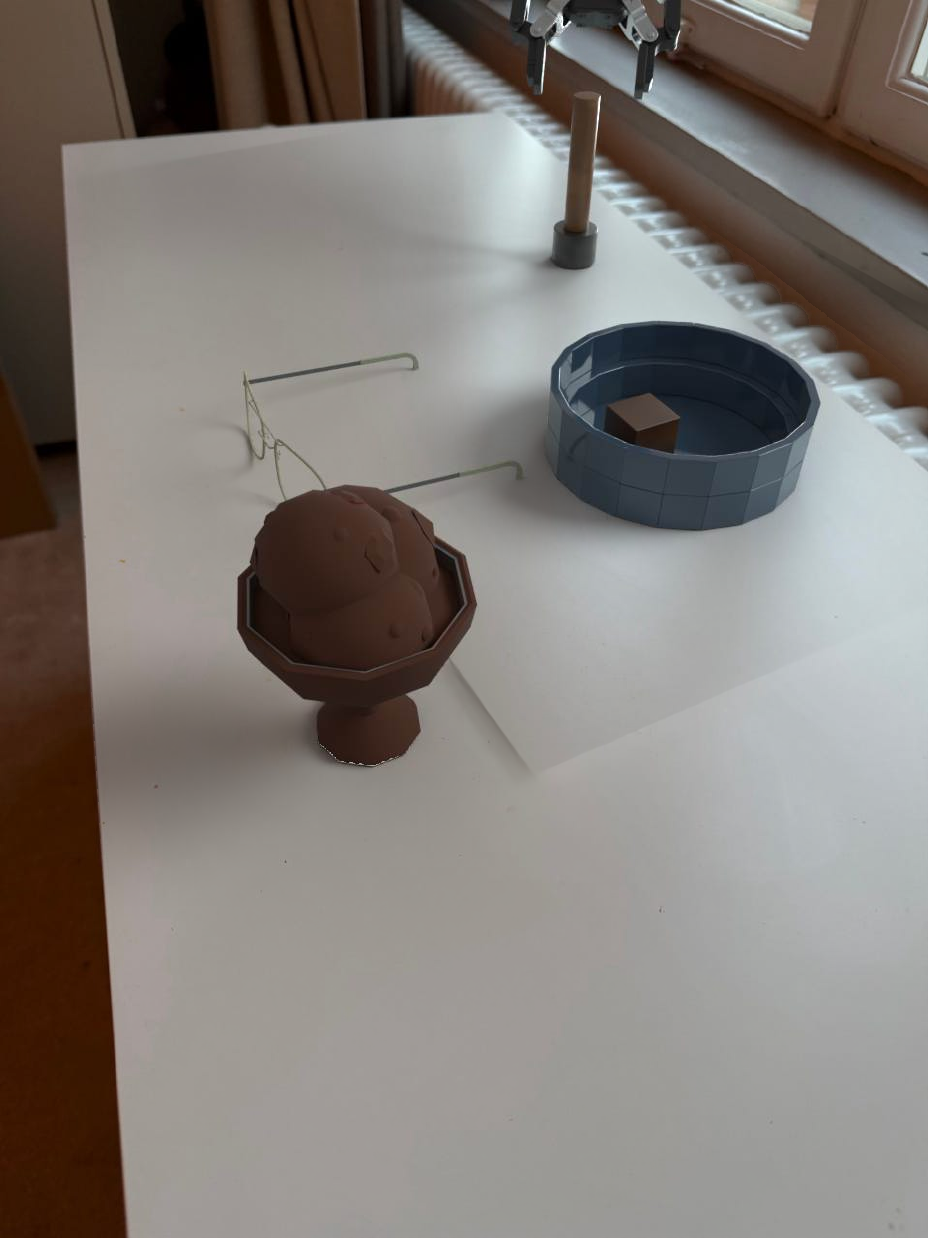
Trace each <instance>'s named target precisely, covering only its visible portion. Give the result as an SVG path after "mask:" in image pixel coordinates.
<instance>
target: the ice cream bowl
mask: <svg viewBox="0 0 928 1238" xmlns="http://www.w3.org/2000/svg"><path fill="white" fill-rule="evenodd" d="M253 541H254V545H253V548H252V552H251V556H250V559H249V565H248V566H247V567H246V568H245V569H244V570H243V571H242V572H241V573H240V574H239V575H238V576H237V581H236V582H237V589H236V591H237V593H236V602H237V603H236V609H237V610H236V630H237V632H238V634H239V637H240V638H241V639H242V641H243V643H244V645H245V648H246V649H247V651H248V652H249V653H250V654H251V655H252V656H253V657H254V658H256V660H258V661H259V662H260V664H262V665H263V666H264V667H265V668H266V669H267V670H268V671H270V672H271V673H272V674H273V675H274V676H276V677H277V678H278V679H279V680H280V681H282V682H283V683H284V684H285V685H286V686H287V687H288V688H289V689H291V690H292V691H293V692H294V693H295V694H296V695H298V696H299V697H300V698H301V699H302V700H306V701H313V702H319V703H320V702H321V703H323V705H322V706H321V707H320V708H319V709H318V711H317V714H316V717H317V718H316V717H315V720H316V719H317V724H316V734H317V733H318V739H317V743H318V742H319V744H321V745H322V746H324V748H326V750H328V751H329V752H331V754H333V756H334V757H336V759H338V760H339V761H344V762H346V763H349V762H353V763H355V764H359V763H362V764H364V765H376V764H379V763H381V762H382V761H387V760H389V759H390V758H395V757H397V756H400V757H402V755H403V754H405V755H406V753H407V752H408V750H409V749H410V748H409V746H410V747H412V745H411V744H413V743H414V742H415V741H416V739H417V738H418V736H419V735H420V733H421V731H422V729H421V725H420V724H421V723H420V718H419V712H418V706H417V704H416V703H415V701H414V699H413V698H411V697H410V696H408V694H410V693H412V692H415V691H417V690H421V689H423V688H426V687H428V686H430V685H431V683H432V682H433V681H434V679H435V678H436V676H437V675H438V673H439V672H440V671H441V670H442V668H443V667H444V665H445V664H446V663H447V662H448V660H449V659H450V657H451V655H452V654H453V653H454V651H455V650H456V649H457V647H458V646H459V644H460V643H461V641H462V640H463V639H464V638H465V636H466V635H467V633H468V631H469V630H470V628H471V627H472V624H473V620H474V617H475V613H476V611H477V607H478V602H477V599H476V598H477V597H476V594H475V590H474V585H473V582H472V577H471V573H470V569H469V565H468V561H467V557H466V556H467V555H466V554H464V553H463V552H462V551H460V550H458V549H457V548H455V547H454V546H452V545H450V544H449V543H447V542H446V541H445V540H443V539H442V538H440V537H439V536H436V535H435V529H434V522H433V521H431V520H430V519H429V518H428V517H426V516H425V515H424V514H423V513H421V512H420V511H419V510H418V509H416V508H415V507H414V506H413V507H411V506H410V505H409V504H407V503H405V502H403V500H401V499H398V498H397V497H395V496H393V495H392V494H391V493H389V494H388V493H387V492H385V491H382V489H380V488H378V487H375V486H374V487H373V486H364V485H355V484H346V483H345V484H342V485H339V486H334V487H330V488H327V489H326V490H324V489H311V490H308V491H306V492H304V493H301V494H299V495H296V496H294V497H291V498H289V499H288V500H286V501H285V500H283V501H282V502H279V503H278V504H277V506H276V507H275V509H274V510H271V511H269V512H268V513H267V514H265V517H264V519H263V525H262V526H261V528H260V529H259V531H258V532H257V534H256V535H255V537H254V540H253ZM416 737H417V738H416ZM413 741H414V742H413ZM319 744H318V745H319ZM324 748H323V749H324ZM408 748H409V749H408ZM326 750H325V751H326ZM406 751H407V752H406ZM333 756H332V757H333ZM403 756H404V755H403ZM334 757H333V758H334ZM336 759H335V760H336ZM395 759H396V758H395ZM387 762H388V761H387ZM346 763H345V764H346Z"/></svg>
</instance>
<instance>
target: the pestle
mask: <svg viewBox="0 0 928 1238" xmlns="http://www.w3.org/2000/svg"><path fill="white" fill-rule="evenodd" d="M600 105H601V95H600V93H597V92H595V91H588V90H584V91H577V92H575V93H574V94H573V102H572V114H571V115H572V116H571V126H570V127H571V128H570V139H569V140H570V141H569V153H568V165H567V167H568V169H567V179H566V192H565V206H564V208H565V209H564V216H563V217H564V218H563V219H562V220H560V221H557V222H556V223H555V224H554V225H553V232H552V245H551V246H552V248H551V261H552V263H553V264H554V265H556V266H558V267H560V268H564V269H569V270H581V269H586V268H589V267H591V266H593V264H594V263H595V262H596V256H597V255H596V254H597V247H598V246H597V245H598V236H599V234H598V233H599V227H598V225H597V224H595V223H594V222H592V221H590V215H591V203H592V191H593V180H594V171H595V159H596V148H597V140H598V139H597V137H598V127H599V118H600ZM594 265H595V264H594Z"/></svg>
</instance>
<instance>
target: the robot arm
mask: <svg viewBox="0 0 928 1238" xmlns="http://www.w3.org/2000/svg"><path fill="white" fill-rule="evenodd" d="M656 1H657V2H658V3H659V4H660V5H663V17H662V21H663V22H662V27H658V28H656V27H655V25H654V24H653V22H652V21H651V19H650V17H649V16H648V15H647V11H646V8H645V5H644V4H643V2H642V1H641V0H549V2H548V3H547V4H546V7H545V9H544V11H543V12H542V13H541V14H540V15H539V16H538V17H537V19H536V20H535V21H533V23H532V22H530V21H528V19H529V12H530V7H531V6H530V5H531V0H512V2H511V8H510V15H509V21H508V23H509V36H510V37H509V39H510V42H511V44H512V45H515V46H520V45H523V46H525V47H526V48H527V50H528V51H527V62H526V74H525V75H526V83H527V86H528V88H533V95H543V86H544V76H545V66H546V54H547V53H546V52H547V51H546V50H547V47H548V45H550V44H551V42H552V41H553V40H554V39H556V38H558V37H560V36H561V34H562V33H563V32H565V30H566V29H567V28H568V27H569V26H570V24H571V23H572V24H574V25H575V27H576V28H580V29H581V28H582V29H586V28H591V27H594V26H595V27H598V28H600V29H606V30H607V29H608V30H613V29H614V26H617V25H618V26H619V27H620V29H621V30H622V32H623V33H624V35H625V36H626V38H627V40H629V41H632V43H633V44H634V46H635V48H636V49H637V52H638V53H637V60H636V68H635V69H636V70H635V80H634V90H633V91H634V92H633V100H643V96H644V94H645V93H646V94H647V93H648V94H649V92H650V91H651V89H652V85H653V82H654V81H653V79H654V71H655V61H656V56H657V55H658V54H659V53H661V52H664V51H665V52H667V53H671V52H675V50H676V49H677V47H678V41H679V40H678V39H679V35H680V33H681V25H682V24H681V23H682V0H656Z"/></svg>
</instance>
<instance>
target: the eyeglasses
mask: <svg viewBox="0 0 928 1238" xmlns="http://www.w3.org/2000/svg"><path fill="white" fill-rule="evenodd" d="M404 358H408V359H411V360H412V370H413V371H417V370H419V369H420V365H419V360H418V358H417V357H416V356H415V354H414V353H412V352H408V351H405V352H398V353H392V354H386V355H381V356H374V357H369V358H364V359H363V358H362V359H359V360H356V361H351V362H344V363H340V364H339V363H338V364H332V365H327V366H322V367H317V368H310V369H305V370H304V369H303V370H299V371H298V370H297V371H292V372H288V373H287V372H286V373H282V374H276V375H270V376H265V377H258V378H252V379H249V378H248V375H247V371H245V370H244V371H243V372H242V373H243V382H242V383H243V387H244V398H245V399H244V400H245V409H246V410H245V411H246V422H247V434H248V439H249V443H250V446H251V450H252V452H253V454H254V456H255V457H256V458H257V459H258V460H259V461H262V460H265V457H266V447H267V449H269V450H273V454H274V463H275V471H276V477H277V482H278V485H279V489H280V491H281V494H282V497H283V498H284V501H286V500H289V499H288V497H287V494H286V492H285V489H284V486H283V483H282V482H283V481H282V477H281V473H280V465H279V461H280V457H279V456H282V455H281V454H282V453H281V450H278V447H285V448H286V449H287V450H289V452H291V454H293V455H294V456H295V457H296V458H298V459H299V460H300V461H301V462H302V463H303V464H304V465H305V466H306V467H307V468H308V469H309V470H310V471H311V472H312V473H313V474H314V475H315V477H316V478H317V479H318V481H319V482H320V484H321V486H322V488H323V490H326V489H328V486H327V484H326V482H325V481H324V479H323V478H322V477H321V475H320V474H319V473H318V471H317V469H315V468H314V467H313V466H312V465H311V464H310V463H309V462H308V461H307V460H305V459H304V457H302V456H301V455H300V454H299V453H298V452H297V451H296V450H295V449H294V448H292V447H291V446H290V445H289V444H287V442H285V441H284V440H283V439H280V438H277V439H276V437H275V435H274V434H273V433H272V431H271V429H270V428H269V427H268V426H267V424H266V423H265V421H264V418H263V415H262V412H261V409H260V407H259V405H258V402H257V399H256V397H255V395H254V393H253V390H252V388H251V385H254V384H260V383H266V382H271V381H277V380H282V379H288V378H294V377H300V376H305V375H311V374H316V373H322V372H328V371H334V370H339V369H346V368H351V367H357V366H364V365H369V364H376V363H381V362H386V361H392V360H393V361H394V360H398V359H404ZM248 392H249V395H248ZM249 396H250V397H251V400H249ZM252 403H253V404H254V405H253V404H252ZM249 405H250V406H249ZM250 407H251V408H252V410H253V412H254V413H255V414H256V416H257V417H258V419H259V422H260V427H261V429H259V430H258V431H257V434H258V435H259V437H260V438H261V439H262V449H261V451H262V452H261V456H260V455H259V454H258V452H257V450H256V448H255V445H254V442H253V437H252V429H251V418H250ZM266 431H267V432H268V433H267V432H266ZM266 434H267V436H266ZM269 434H270V436H271V437H272V439H273V441H274V444H273V446H270V445H269V443H268V442H267V441H266V440H267V439H268V440H270V437H269ZM266 437H267V439H266ZM507 467H514V468H515V469H516V473H515V479H516V480H519V479H523V476H524V475H523V474H524V471H523V468H522V466H521V464H520V463H519V462H518V461H517V460H513V459H511V460H504V461H499V462H496V463H491V464H487V465H483V466H479V467H474V468H469V469H464V470H461V471H458V472H457V473H456V472H455V473H451V474H447V475H443V476H440V477H434V478H429V479H425V480H421V481H417V482H411V483H409V484H404V485H400V486H399V485H398V486H395V487H391V488H387V489H383V490H382V489H381V490H382V491H385V492H387V493H388V494H393V493H398V492H403V491H406V490H411V489H414V488H420V487H424V486H428V485H433V484H436V483H441V482H445V481H449V480H453V479H457V478H464V477H467V476H472V475H477V474H480V473H484V472H489V471H493V470H497V469H502V468H507Z"/></svg>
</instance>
